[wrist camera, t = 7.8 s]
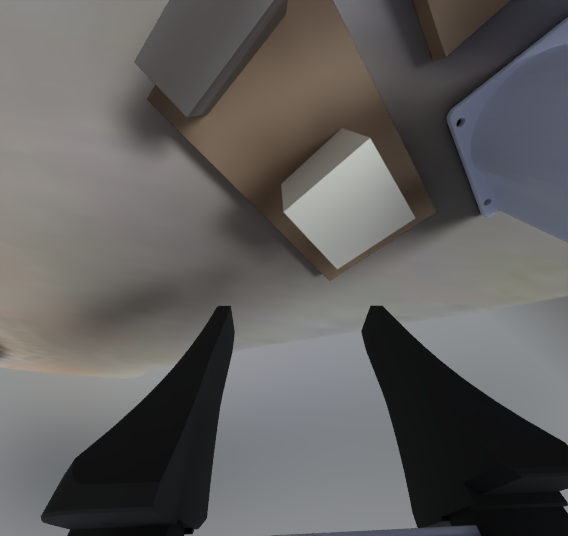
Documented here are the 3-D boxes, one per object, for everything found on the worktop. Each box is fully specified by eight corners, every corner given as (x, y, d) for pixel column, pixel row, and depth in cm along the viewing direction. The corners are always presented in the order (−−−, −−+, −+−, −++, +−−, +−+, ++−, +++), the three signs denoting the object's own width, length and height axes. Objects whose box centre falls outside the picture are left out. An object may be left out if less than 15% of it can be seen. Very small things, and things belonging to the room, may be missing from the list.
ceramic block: (379, 189, 16) (415, 218, 12) (323, 232, 18) (337, 269, 14) (342, 128, 14) (370, 137, 10) (281, 184, 16) (283, 212, 12)
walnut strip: (428, 205, 18) (474, 236, 14) (326, 273, 22) (339, 313, 18) (278, -88, 10) (281, -229, 6) (155, 99, 14) (103, 97, 9)
